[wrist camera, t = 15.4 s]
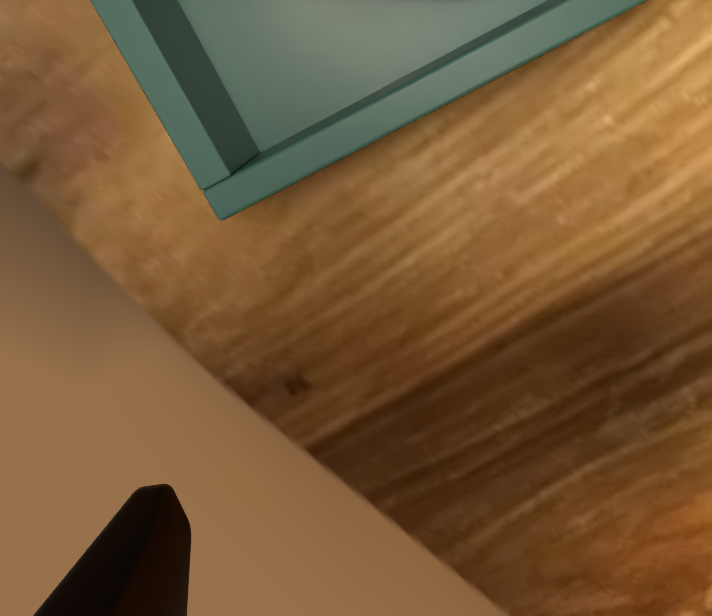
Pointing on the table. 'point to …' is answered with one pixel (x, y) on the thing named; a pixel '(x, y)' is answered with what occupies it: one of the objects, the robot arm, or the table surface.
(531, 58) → the bin
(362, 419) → the table surface
